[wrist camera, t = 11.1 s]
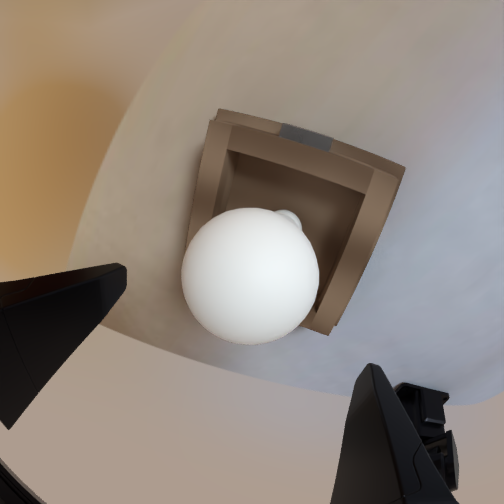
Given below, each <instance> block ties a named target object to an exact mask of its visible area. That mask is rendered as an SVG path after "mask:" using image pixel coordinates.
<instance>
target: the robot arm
mask: <svg viewBox="0 0 504 504" xmlns="http://www.w3.org/2000/svg"><path fill="white" fill-rule="evenodd" d="M126 286H127V269H126V267H125V266H123V265H121V264H119V263H112V264H106V265H100V266H94V267H89V268H83V269H77V270H72V271H66V272H61V273H55V274H49V275H45V276H39V277H35V278H34V277H33V278H28V279H22V280H16V281H8V282H0V421H1V422H2V423H3V425H4V426H5V427H6V428H7V429H8V430H9V429H10V428H11V427H12V426H13V425H14V423H15V422H16V421H17V420H18V418H19V417H20V416H21V414H22V413H23V412H24V411H25V409H26V408H27V407H28V406H29V404H30V403H31V402H32V401H33V399H34V398H35V397H36V396H37V394H38V392H40V390H41V389H42V388H43V387H44V386H45V385H46V383H47V382H48V381H49V380H50V379H51V377H52V376H53V375H54V374H55V373H56V371H57V370H58V369H59V368H60V367H61V366H62V364H63V363H64V362H65V361H66V360H67V359H68V358H69V356H70V355H71V354H72V353H73V352H74V351H75V350H76V348H77V347H78V346H79V345H80V344H81V343H82V342H83V341H84V339H85V338H86V337H87V336H88V335H89V334H90V333H91V332H92V331H93V330H94V328H95V327H96V326H97V325H98V324H99V323H100V322H101V321H102V320H103V319H104V317H105V316H106V315H107V314H108V312H109V311H110V309H111V308H112V307H113V306H114V304H115V303H116V302H117V300H118V299H119V298H120V296H121V295H122V294H123V292H124V291H125V289H126ZM405 387H406V388H405ZM448 399H449V394H448V393H445V392H440V391H436V390H432V389H428V388H424V387H421V386H417V385H413V384H409V383H403V384H401V385H400V386H399V388H398V389H397V390H396V391H394V389H393V388H392V386H391V384H390V382H389V381H388V379H387V377H386V375H385V374H384V372H383V370H382V368H381V367H380V366H379V365H376V364H373V363H368V364H367V365H366V367H365V368H364V369H363V371H362V372H361V374H360V375H359V376H358V378H357V380H356V382H355V385H354V390H353V394H352V398H351V402H350V406H349V411H348V414H347V418H346V423H345V429H344V435H343V441H342V448H341V453H340V459H339V464H338V470H337V475H336V479H335V484H334V489H333V493H332V498H331V503H330V504H459V503H458V502H457V501H456V499H455V498H454V496H453V495H452V493H451V491H455V490H457V489H458V476H459V463H458V455H457V448H456V444H455V441H454V437H453V434H452V430H449V431H446V433H445V431H444V424H445V423H446V421H445V415H444V409H443V405H444V404H445V403H446V401H447V400H448ZM0 504H46V503H45V502H44V501H43V500H42V499H41V498H40V497H38V496H37V495H36V494H35V493H34V492H33V491H32V490H31V489H30V488H29V487H28V486H27V485H25V484H24V483H23V482H22V481H21V480H20V479H19V478H18V477H17V476H16V475H15V474H14V473H13V472H12V471H11V469H9V467H8V466H7V465H6V464H5V463H4V462H3V461H2V460H1V458H0Z"/></svg>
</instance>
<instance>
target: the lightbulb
mask: <svg viewBox="0 0 504 504" xmlns="http://www.w3.org/2000/svg"><path fill="white" fill-rule="evenodd" d="M181 281H182V288H183V293H184V297H185V300H186V302H187V305H188V307H189V309H190V310H191V312H192V314H193V315H194V317H195V318H196V319H197V321H198V322H199V323H200V324H201V325H202V326H203V327H204V328H205V329H206V330H207V331H209V332H210V333H212V334H213V335H215V336H217V337H219V338H221V339H223V340H225V341H228V342H231V343H236V344H243V345H258V344H264V343H268V342H272V341H275V340H277V339H279V338H282V337H284V336H285V335H287V334H288V333H290V332H291V331H292V330H294V329H295V328H296V327H297V326H298V325H299V324H300V323H301V322H302V321H303V320H304V319H305V317H306V316H307V314H308V313H309V311H310V309H311V307H312V306H313V304H314V302H315V298H316V294H317V290H318V286H319V268H318V263H317V259H316V255H315V252H314V250H313V248H312V245H311V243H310V241H309V240H308V238H307V237H306V236H305V234H304V233H303V231H302V225H301V222H300V220H299V218H298V217H297V216H296V215H295V214H294V213H292V212H290V211H288V210H277V211H274V212H273V211H271V210H266V209H261V208H239V209H234V210H230V211H226V212H224V213H222V214H220V215H218V216H216V217H214V218H213V219H211V220H210V221H209V222H207V223H206V224H205V225H203V226H202V227H201V228H200V230H199V231H198V232H197V233H196V235H195V236H194V237H193V239H192V240H191V242H190V244H189V246H188V248H187V250H186V253H185V256H184V259H183V263H182V268H181Z"/></svg>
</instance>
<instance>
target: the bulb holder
mask: <svg viewBox="0 0 504 504" xmlns="http://www.w3.org/2000/svg"><path fill="white" fill-rule="evenodd" d="M405 169H406V168H405V167H404V166H402V165H399V164H397V163H395V162H392V161H390V160H387V159H385V158H383V157H380V156H378V155H375V154H373V153H370V152H367V151H365V150H362V149H359V148H357V147H354V146H351V145H349V144H346V143H343V142H340V141H337V140H334V138H332V137H329V136H326V135H323V134H320V133H317V132H314V131H310V130H307V129H304V128H300V127H297V126H294V125H290V124H285V123H279V122H275V121H271V120H267V119H263V118H259V117H255V116H251V115H247V114H242V113H238V112H233V111H229V110H224V109H218V112H217V116H216V120H210V122H209V126H208V131H207V135H206V140H205V144H204V149H203V154H202V159H201V164H200V169H199V174H198V179H197V184H196V189H195V195H194V200H193V206H192V212H191V218H190V223H189V230H188V236H187V242H186V249H185V253H186V250H187V248H188V246H189V244H190V242H191V240H192V239H193V237H194V236H195V235H196V233H197V232H198V231H199V230H200V228H201V227H202V226H203V225H205V224H206V223H207V222H209V221H210V220H211V219H213V218H214V217H216V216H218V215H220V214H222V213H224V212H226V211H230V210H234V209H239V208H261V209H266V210H271V211H273V212H274V211H277V210H288V211H290V212H292V213H294V214H295V215H296V216H297V217H298V218H299V220H300V222H301V225H302V231H303V233H304V234H305V236H306V237H307V238H308V240H309V241H310V243H311V245H312V248H313V250H314V252H315V255H316V259H317V263H318V268H319V286H318V290H317V294H316V298H315V302H314V304H313V306H312V307H311V309H310V311H309V313H308V314H307V316H306V317H305V319H304V320H303V321H302V322H301V323H300V324H299V326H302V327H305V328H308V329H310V330H313V331H316V332H319V333H322V334H324V335H327V336H329V334H330V332H331V330H332V328H333V327H334V326H337V324H338V322H339V320H340V318H341V316H342V314H343V312H344V310H345V309H346V307H347V305H348V303H349V301H350V299H351V297H352V295H353V293H354V291H355V289H356V287H357V285H358V282H359V280H360V278H361V276H362V274H363V272H364V270H365V268H366V266H367V263H368V261H369V259H370V257H371V255H372V252H373V250H374V248H375V246H376V243H377V241H378V239H379V236H380V234H381V232H382V229H383V227H384V224H385V222H386V219H387V217H388V214H389V212H390V209H391V207H392V204H393V202H394V199H395V196H396V194H397V191H398V188H399V186H400V183H401V180H402V177H403V175H404V172H405ZM184 256H185V255H184Z"/></svg>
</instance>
